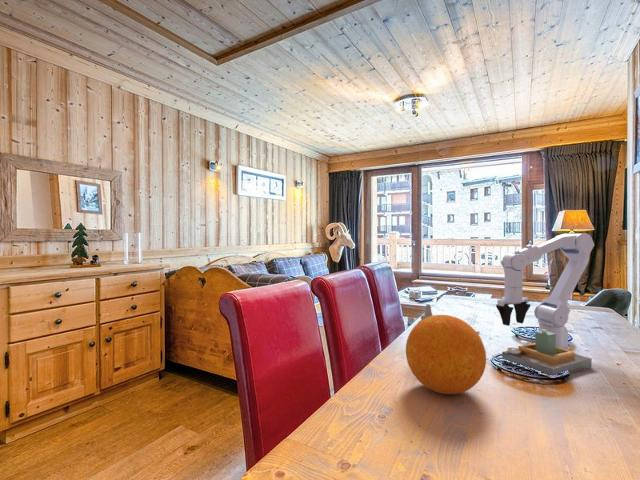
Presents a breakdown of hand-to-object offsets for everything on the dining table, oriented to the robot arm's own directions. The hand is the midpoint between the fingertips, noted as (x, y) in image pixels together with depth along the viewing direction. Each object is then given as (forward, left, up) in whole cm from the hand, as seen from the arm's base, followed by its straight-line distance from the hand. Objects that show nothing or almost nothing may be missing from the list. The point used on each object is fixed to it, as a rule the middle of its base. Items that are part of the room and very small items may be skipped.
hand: (513, 323), depth 123 cm
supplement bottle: (+17, -3, -10) cm, 20 cm away
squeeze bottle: (+34, -7, -10) cm, 36 cm away
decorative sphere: (+48, +14, -10) cm, 51 cm away
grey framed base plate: (+4, +14, -9) cm, 17 cm away
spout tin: (+4, +14, -6) cm, 16 cm away
